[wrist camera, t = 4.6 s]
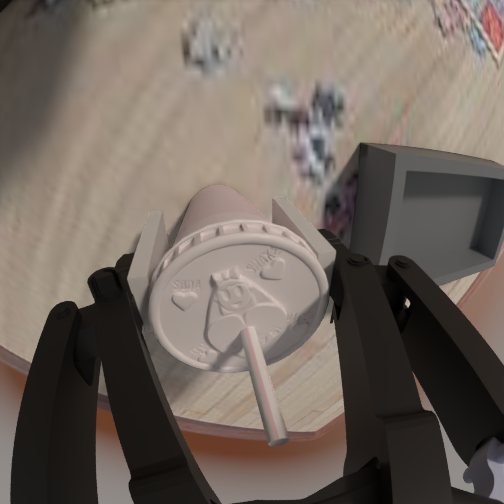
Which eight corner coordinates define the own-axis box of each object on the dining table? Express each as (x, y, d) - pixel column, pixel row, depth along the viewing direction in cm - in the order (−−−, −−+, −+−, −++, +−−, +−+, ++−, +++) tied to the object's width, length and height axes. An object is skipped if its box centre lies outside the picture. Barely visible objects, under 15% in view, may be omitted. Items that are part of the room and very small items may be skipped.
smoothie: (188, 269, 19) (204, 481, 7) (150, 184, 16) (71, 402, 4) (276, 239, 19) (382, 425, 7) (252, 149, 16) (419, 293, 4)
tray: (360, 142, 17) (396, 153, 14) (492, 160, 20) (519, 172, 17) (345, 276, 22) (368, 305, 19) (472, 249, 25) (494, 266, 22)
